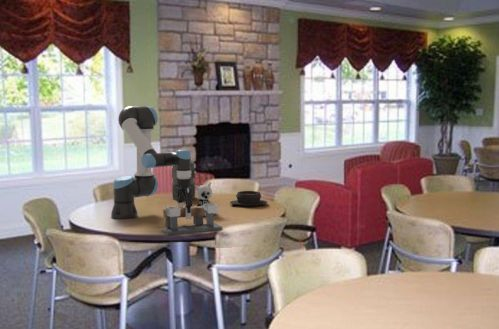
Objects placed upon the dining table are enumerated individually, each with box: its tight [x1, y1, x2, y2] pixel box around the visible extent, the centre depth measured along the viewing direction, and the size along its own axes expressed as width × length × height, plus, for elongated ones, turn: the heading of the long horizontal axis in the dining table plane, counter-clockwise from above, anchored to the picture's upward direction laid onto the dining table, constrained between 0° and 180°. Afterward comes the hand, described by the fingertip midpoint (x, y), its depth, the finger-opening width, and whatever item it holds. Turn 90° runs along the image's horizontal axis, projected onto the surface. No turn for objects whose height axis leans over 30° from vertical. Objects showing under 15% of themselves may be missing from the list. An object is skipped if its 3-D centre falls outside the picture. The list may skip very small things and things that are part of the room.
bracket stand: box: [161, 202, 223, 236], centre depth 282 cm, size 30×10×13 cm, turn 115°
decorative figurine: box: [194, 181, 216, 217], centre depth 323 cm, size 15×15×20 cm
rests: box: [164, 216, 204, 228], centre depth 294 cm, size 20×5×5 cm, turn 115°
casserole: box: [229, 190, 268, 207], centre depth 353 cm, size 25×19×8 cm
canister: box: [171, 160, 196, 201], centre depth 377 cm, size 16×16×28 cm
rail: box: [162, 205, 205, 219], centre depth 294 cm, size 22×4×4 cm, turn 115°
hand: (184, 216), depth 294 cm, fingers open, 13 cm apart
